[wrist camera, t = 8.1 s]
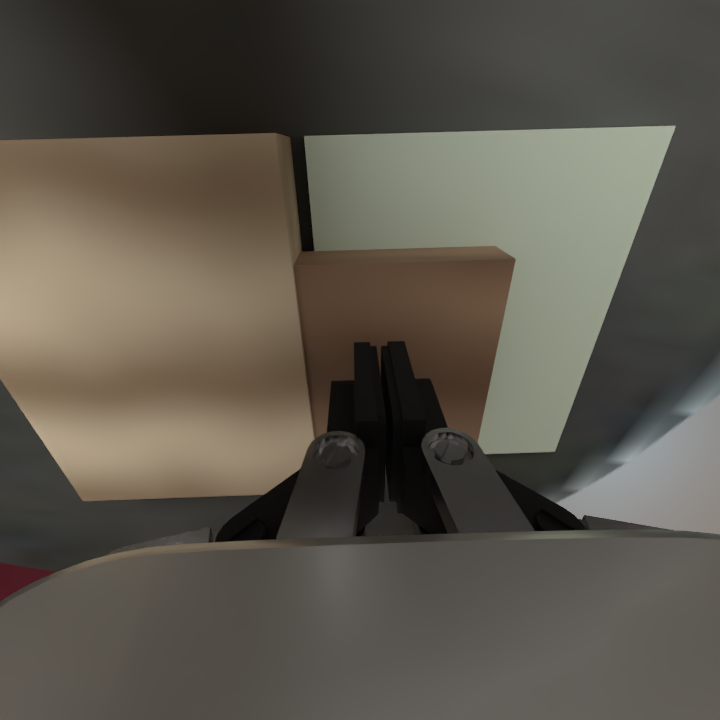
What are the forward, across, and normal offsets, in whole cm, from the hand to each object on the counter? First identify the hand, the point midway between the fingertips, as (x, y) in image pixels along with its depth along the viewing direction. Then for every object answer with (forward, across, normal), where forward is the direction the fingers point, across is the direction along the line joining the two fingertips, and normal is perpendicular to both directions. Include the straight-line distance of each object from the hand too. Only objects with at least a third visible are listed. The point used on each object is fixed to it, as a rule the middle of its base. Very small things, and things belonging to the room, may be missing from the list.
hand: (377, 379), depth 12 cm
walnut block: (+3, -1, 0) cm, 3 cm away
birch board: (+4, +8, 0) cm, 9 cm away
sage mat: (+4, -4, 0) cm, 5 cm away
